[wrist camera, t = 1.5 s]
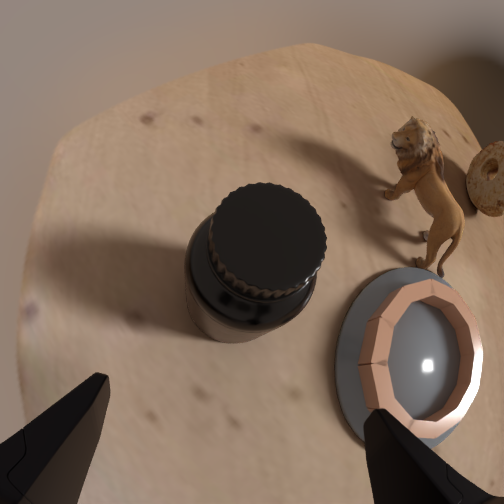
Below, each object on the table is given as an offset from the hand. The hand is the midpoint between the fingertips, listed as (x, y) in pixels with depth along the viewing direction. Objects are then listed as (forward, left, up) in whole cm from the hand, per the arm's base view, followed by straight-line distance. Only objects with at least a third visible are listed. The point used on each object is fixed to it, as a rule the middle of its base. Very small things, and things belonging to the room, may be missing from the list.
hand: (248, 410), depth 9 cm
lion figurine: (+21, -13, -13) cm, 28 cm away
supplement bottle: (+7, +1, -13) cm, 14 cm away
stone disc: (+32, -26, -13) cm, 43 cm away
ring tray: (+7, -17, -13) cm, 22 cm away
